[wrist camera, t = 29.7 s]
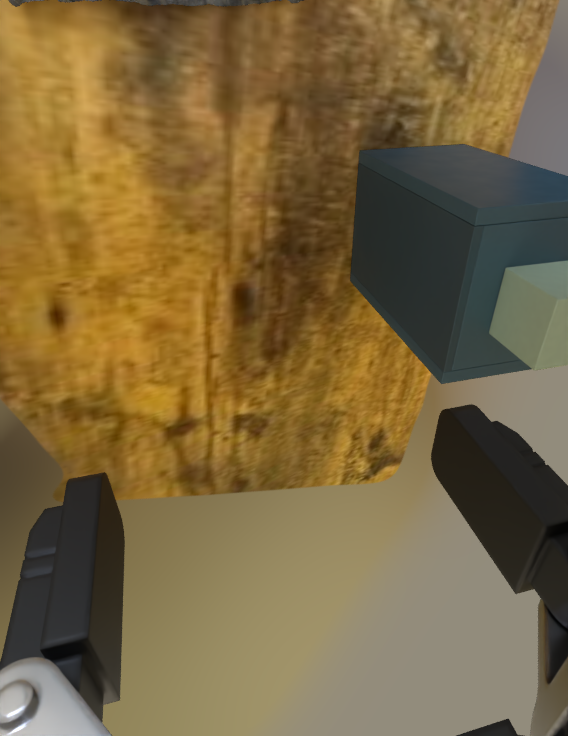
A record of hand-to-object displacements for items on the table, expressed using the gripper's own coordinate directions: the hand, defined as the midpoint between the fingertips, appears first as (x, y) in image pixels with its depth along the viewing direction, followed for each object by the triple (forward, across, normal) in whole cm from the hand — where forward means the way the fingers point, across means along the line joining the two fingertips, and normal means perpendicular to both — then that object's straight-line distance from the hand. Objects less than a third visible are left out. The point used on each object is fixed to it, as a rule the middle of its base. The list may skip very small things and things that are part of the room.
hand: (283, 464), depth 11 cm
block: (+15, -20, +6) cm, 26 cm away
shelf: (+24, -15, +6) cm, 29 cm away
